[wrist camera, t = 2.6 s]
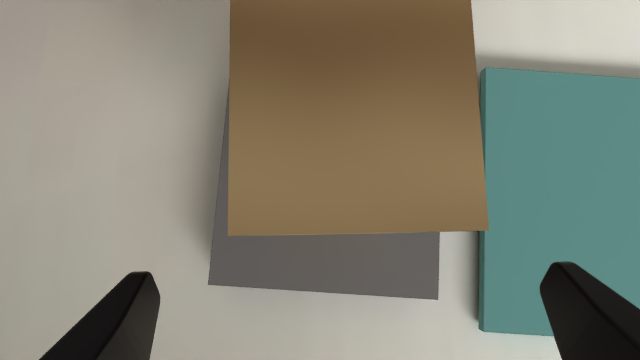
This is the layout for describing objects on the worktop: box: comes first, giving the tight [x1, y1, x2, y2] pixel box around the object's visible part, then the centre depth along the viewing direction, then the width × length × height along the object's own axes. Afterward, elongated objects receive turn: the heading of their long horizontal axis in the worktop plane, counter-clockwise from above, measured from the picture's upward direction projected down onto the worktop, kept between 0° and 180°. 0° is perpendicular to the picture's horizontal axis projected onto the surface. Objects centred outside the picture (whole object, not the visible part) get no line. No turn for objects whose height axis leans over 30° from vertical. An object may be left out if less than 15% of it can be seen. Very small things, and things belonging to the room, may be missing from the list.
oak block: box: [228, 0, 489, 236], centre depth 13 cm, size 5×5×10 cm
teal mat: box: [479, 67, 640, 336], centre depth 20 cm, size 13×13×1 cm
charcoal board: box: [208, 78, 440, 300], centre depth 19 cm, size 10×10×2 cm
